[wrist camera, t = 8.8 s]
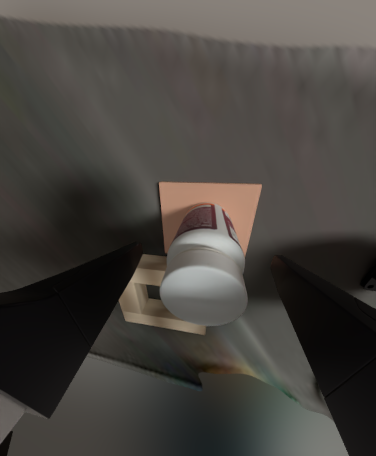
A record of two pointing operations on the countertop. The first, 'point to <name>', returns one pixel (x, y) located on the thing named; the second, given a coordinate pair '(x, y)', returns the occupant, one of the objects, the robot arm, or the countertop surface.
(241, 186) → the terracotta tile
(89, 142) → the countertop surface
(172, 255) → the pill bottle
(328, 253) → the countertop surface
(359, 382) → the robot arm
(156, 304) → the frame block
